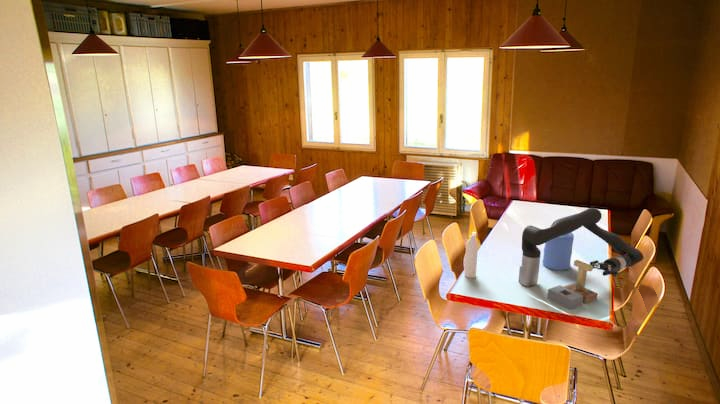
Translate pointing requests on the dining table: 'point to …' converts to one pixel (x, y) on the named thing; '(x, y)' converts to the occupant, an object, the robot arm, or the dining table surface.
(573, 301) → the block
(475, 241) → the water bottle
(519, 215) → the dining table surface
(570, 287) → the block
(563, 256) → the water jug
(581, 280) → the t key
